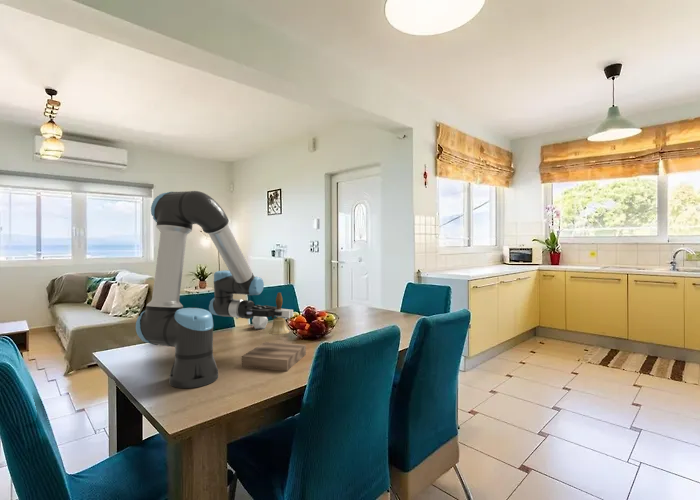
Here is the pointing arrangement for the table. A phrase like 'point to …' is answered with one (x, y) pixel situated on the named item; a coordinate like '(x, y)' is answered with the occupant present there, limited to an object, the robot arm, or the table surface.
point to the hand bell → (279, 320)
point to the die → (259, 322)
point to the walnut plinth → (274, 356)
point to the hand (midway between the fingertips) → (291, 313)
